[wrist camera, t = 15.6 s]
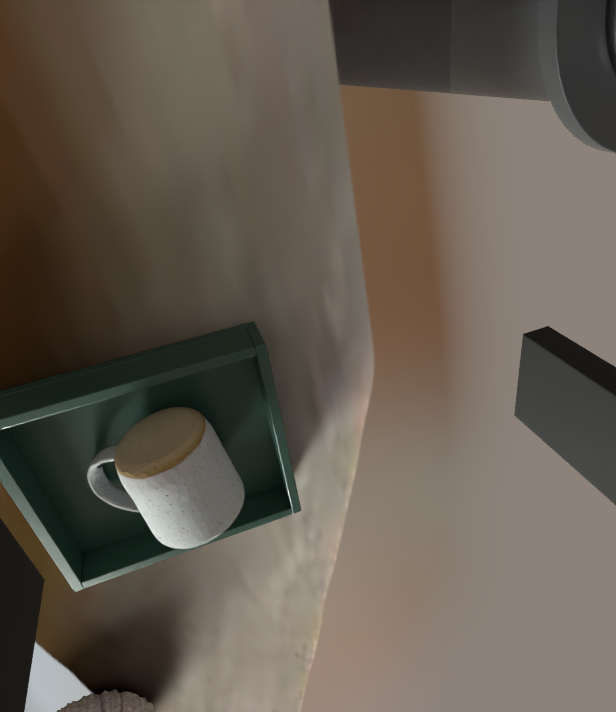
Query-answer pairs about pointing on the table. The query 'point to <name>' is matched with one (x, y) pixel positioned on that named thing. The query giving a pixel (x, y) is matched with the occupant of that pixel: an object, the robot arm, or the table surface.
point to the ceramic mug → (173, 477)
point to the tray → (114, 419)
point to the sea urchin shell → (110, 703)
